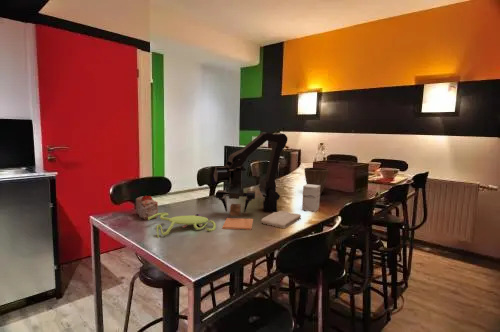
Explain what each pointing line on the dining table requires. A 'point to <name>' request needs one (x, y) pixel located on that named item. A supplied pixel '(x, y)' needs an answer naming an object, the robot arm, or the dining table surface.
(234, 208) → the walnut cube
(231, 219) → the terracotta tile
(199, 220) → the figurine
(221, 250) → the dining table surface
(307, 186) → the supplement box
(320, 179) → the plant pot
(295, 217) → the washcloth
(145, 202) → the food item
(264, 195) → the robot arm
